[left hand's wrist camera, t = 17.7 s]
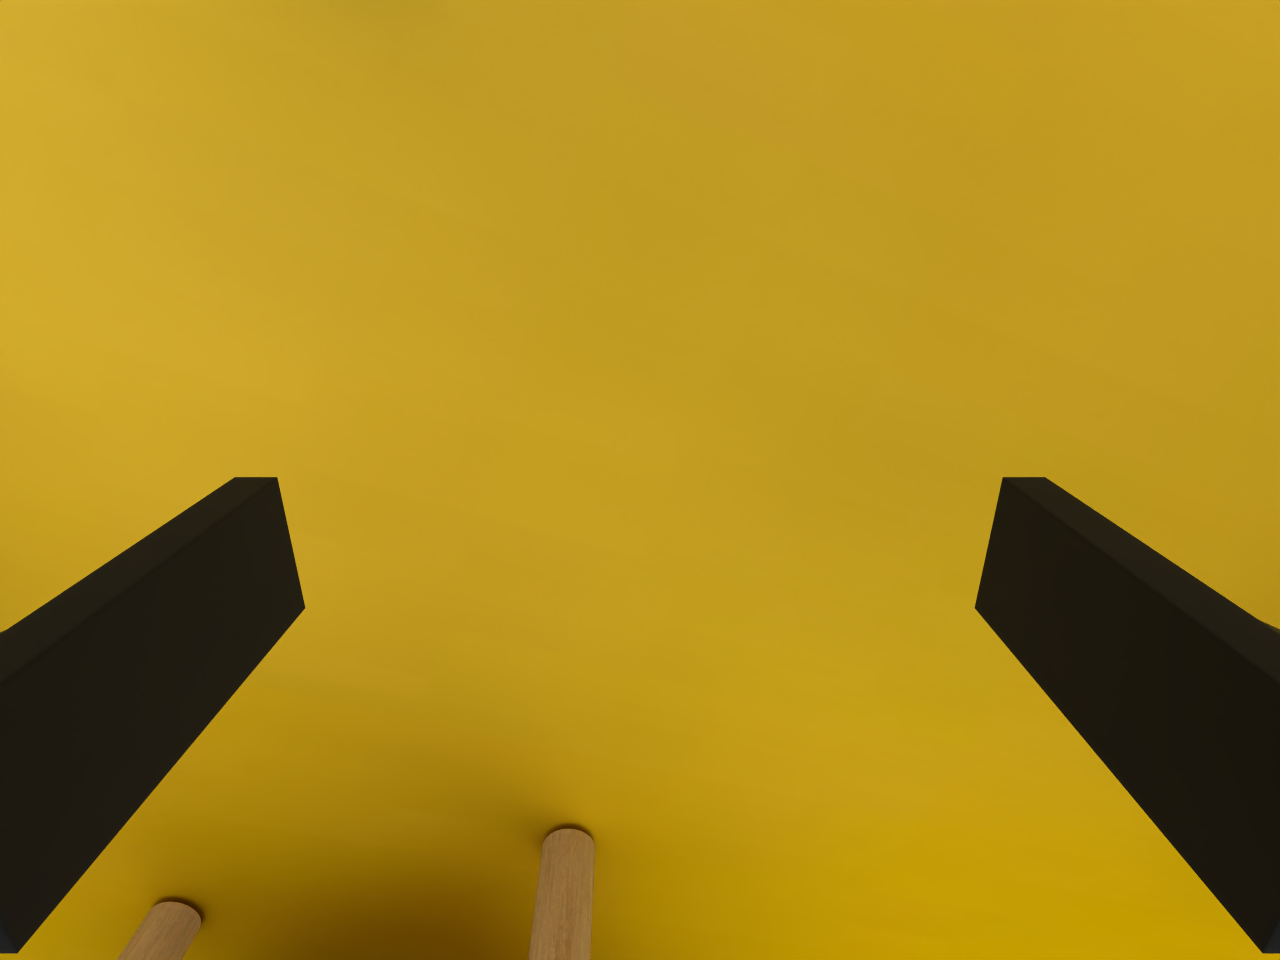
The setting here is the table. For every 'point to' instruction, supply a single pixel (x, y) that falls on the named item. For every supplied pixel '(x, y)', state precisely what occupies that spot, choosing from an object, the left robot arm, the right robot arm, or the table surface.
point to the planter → (556, 920)
